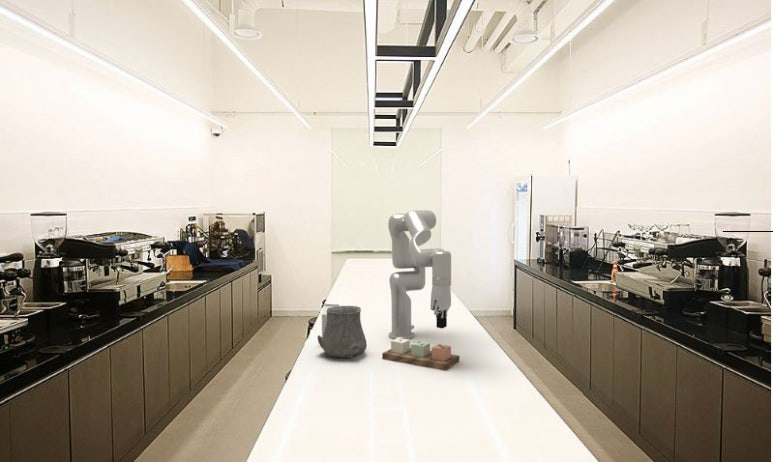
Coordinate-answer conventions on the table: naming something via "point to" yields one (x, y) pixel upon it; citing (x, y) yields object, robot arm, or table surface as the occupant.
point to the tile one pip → (400, 345)
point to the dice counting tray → (421, 360)
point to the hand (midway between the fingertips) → (441, 327)
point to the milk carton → (324, 315)
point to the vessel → (343, 332)
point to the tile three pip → (441, 352)
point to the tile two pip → (420, 349)
